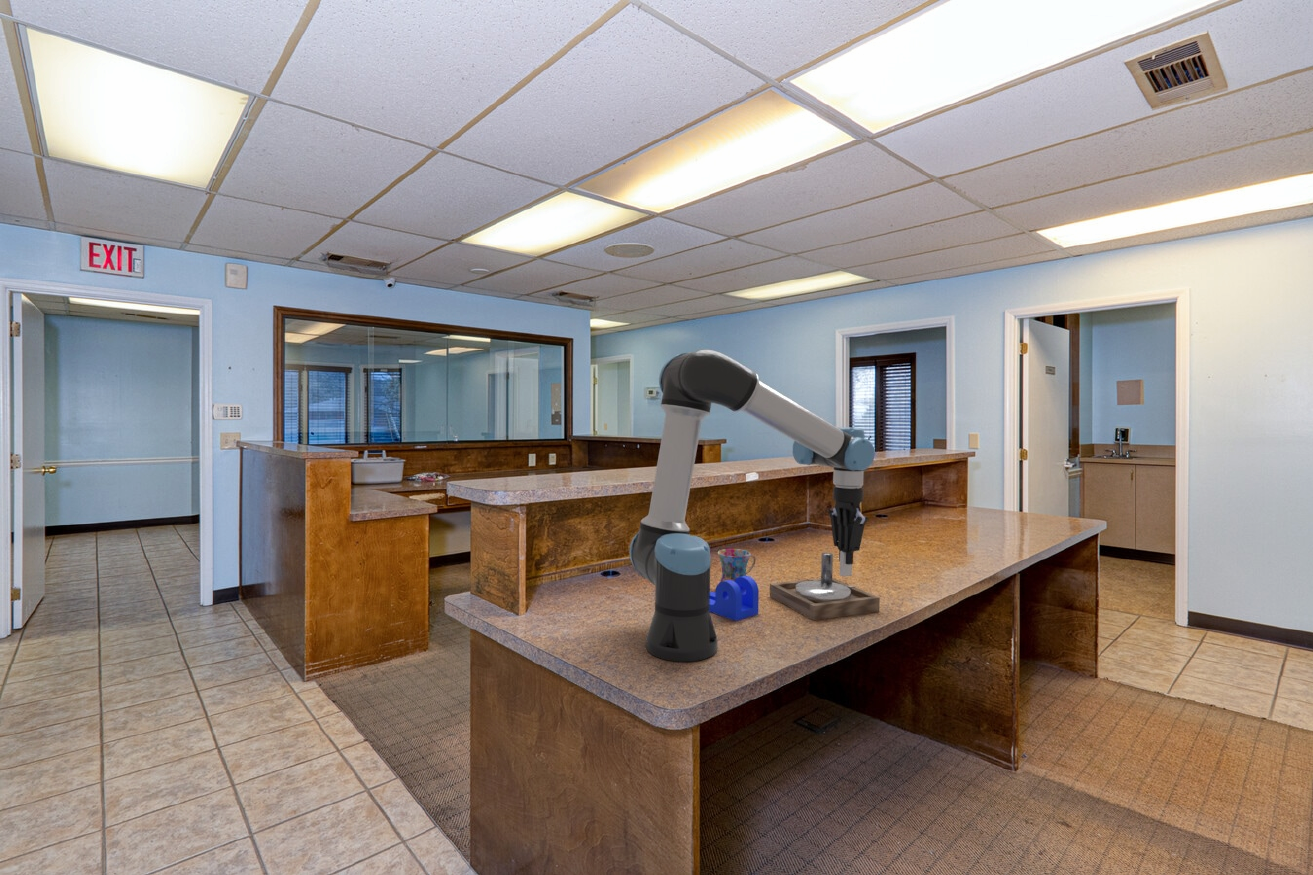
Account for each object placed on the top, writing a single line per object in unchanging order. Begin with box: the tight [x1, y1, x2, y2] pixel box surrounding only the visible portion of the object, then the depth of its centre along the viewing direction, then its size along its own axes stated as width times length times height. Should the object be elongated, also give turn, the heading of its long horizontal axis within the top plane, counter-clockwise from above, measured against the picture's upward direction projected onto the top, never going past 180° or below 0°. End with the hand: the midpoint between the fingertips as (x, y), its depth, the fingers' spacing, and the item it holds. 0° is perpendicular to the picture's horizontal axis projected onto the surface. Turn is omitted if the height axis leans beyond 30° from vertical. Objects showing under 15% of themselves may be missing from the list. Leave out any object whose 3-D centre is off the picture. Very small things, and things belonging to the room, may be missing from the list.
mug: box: [717, 548, 757, 591], centre depth 173 cm, size 12×9×11 cm
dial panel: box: [769, 577, 881, 621], centre depth 160 cm, size 20×20×4 cm
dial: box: [796, 552, 851, 603], centre depth 160 cm, size 14×14×10 cm
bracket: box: [709, 575, 760, 622], centre depth 156 cm, size 18×8×9 cm, turn 40°
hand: (845, 575), depth 160 cm, fingers closed
